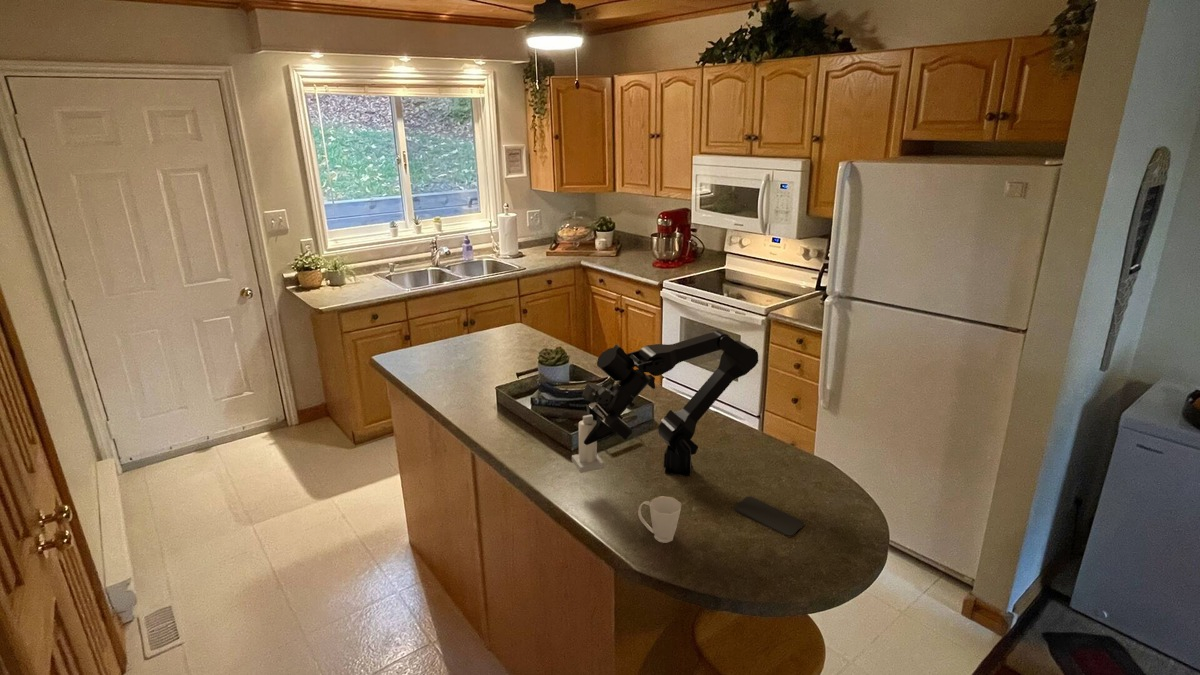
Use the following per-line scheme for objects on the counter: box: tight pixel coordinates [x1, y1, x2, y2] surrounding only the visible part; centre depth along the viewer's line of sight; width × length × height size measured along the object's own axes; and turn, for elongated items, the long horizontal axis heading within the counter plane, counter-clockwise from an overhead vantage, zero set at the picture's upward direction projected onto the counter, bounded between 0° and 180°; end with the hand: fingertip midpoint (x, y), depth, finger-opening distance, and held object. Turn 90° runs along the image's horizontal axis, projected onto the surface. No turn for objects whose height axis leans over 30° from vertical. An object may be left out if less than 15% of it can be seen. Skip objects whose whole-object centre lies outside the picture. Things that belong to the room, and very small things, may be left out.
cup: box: [637, 495, 682, 544], centre depth 137 cm, size 7×10×8 cm
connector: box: [571, 414, 605, 474], centre depth 150 cm, size 6×6×13 cm
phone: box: [733, 495, 805, 537], centre depth 144 cm, size 7×1×15 cm
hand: (582, 440), depth 149 cm, fingers closed on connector, 3 cm apart
